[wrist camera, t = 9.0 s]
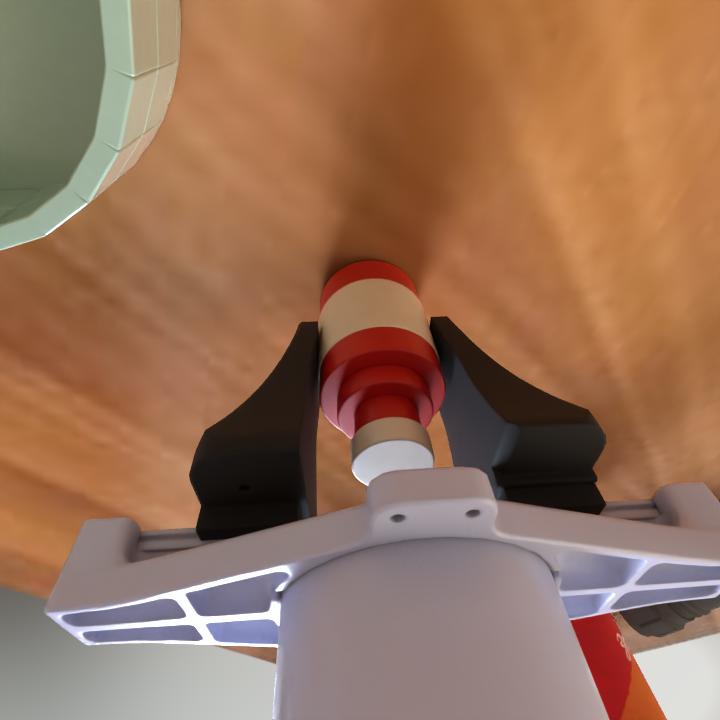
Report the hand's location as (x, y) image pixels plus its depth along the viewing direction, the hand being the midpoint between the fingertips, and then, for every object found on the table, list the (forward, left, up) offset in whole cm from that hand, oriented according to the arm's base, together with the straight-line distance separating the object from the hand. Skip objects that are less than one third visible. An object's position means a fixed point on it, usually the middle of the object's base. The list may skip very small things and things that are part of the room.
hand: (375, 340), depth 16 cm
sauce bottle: (0, 0, -2) cm, 2 cm away
